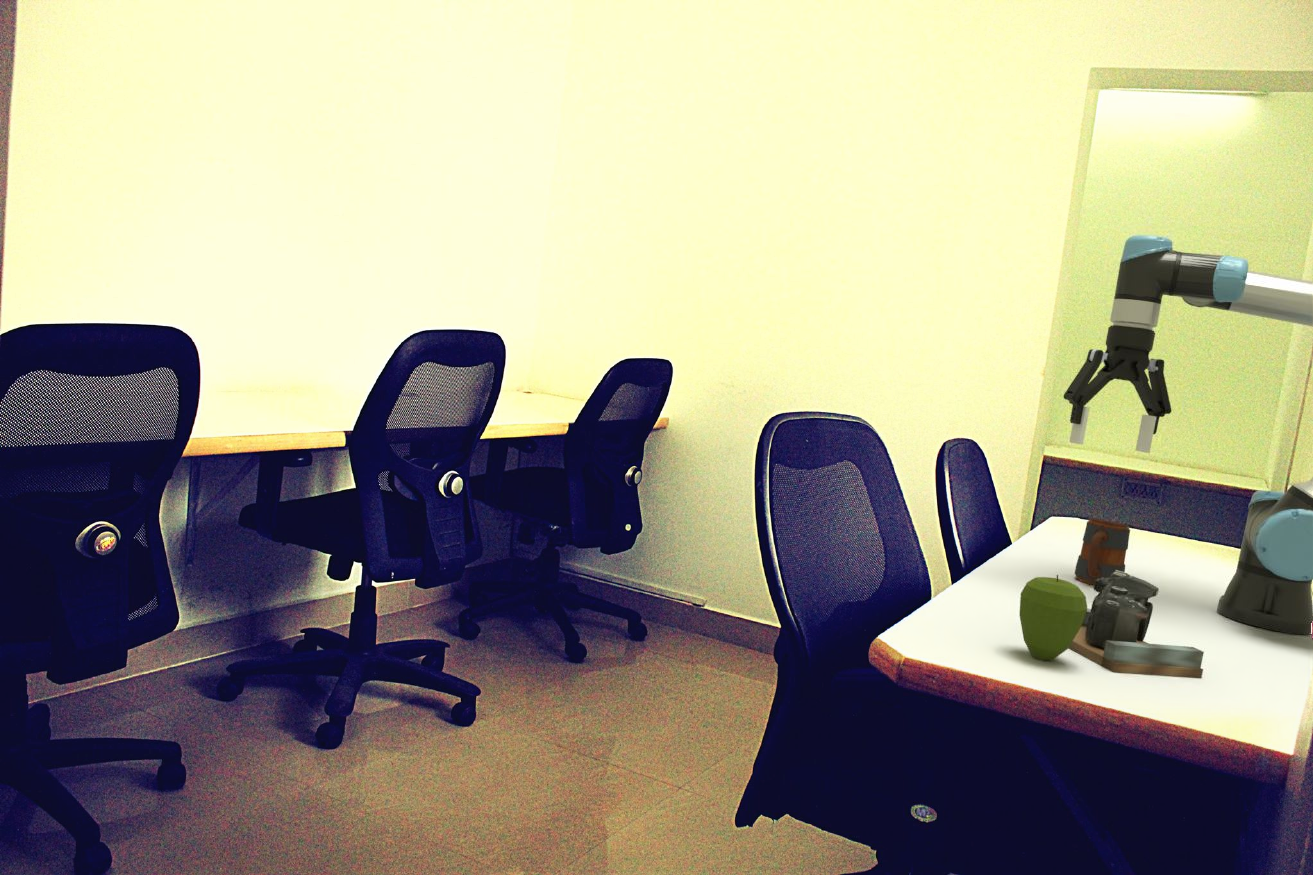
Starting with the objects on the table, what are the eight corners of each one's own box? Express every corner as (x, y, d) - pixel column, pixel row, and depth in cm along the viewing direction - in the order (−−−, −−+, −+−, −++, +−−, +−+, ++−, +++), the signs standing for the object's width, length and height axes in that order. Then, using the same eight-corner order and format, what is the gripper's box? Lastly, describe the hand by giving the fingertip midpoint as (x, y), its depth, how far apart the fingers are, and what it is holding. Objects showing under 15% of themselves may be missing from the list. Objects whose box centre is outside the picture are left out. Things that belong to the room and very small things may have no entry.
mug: (1062, 581, 199) (1073, 520, 198) (1081, 575, 209) (1092, 517, 207) (1109, 593, 194) (1121, 531, 193) (1127, 586, 203) (1138, 527, 202)
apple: (1077, 674, 136) (1093, 587, 135) (1009, 658, 139) (1025, 573, 138) (1075, 657, 145) (1090, 575, 143) (1011, 643, 147) (1025, 562, 146)
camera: (1164, 662, 144) (1178, 591, 143) (1088, 648, 146) (1102, 578, 145) (1135, 635, 157) (1147, 570, 156) (1066, 623, 159) (1078, 559, 158)
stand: (1106, 631, 163) (1110, 609, 162) (1201, 677, 144) (1206, 652, 143) (1027, 625, 159) (1031, 602, 159) (1113, 671, 140) (1118, 646, 140)
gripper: (1177, 335, 190) (1154, 452, 192) (1056, 316, 183) (1034, 436, 185) (1208, 337, 182) (1184, 458, 185) (1084, 317, 176) (1060, 442, 178)
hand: (1109, 447), depth 185 cm, fingers open, 13 cm apart
